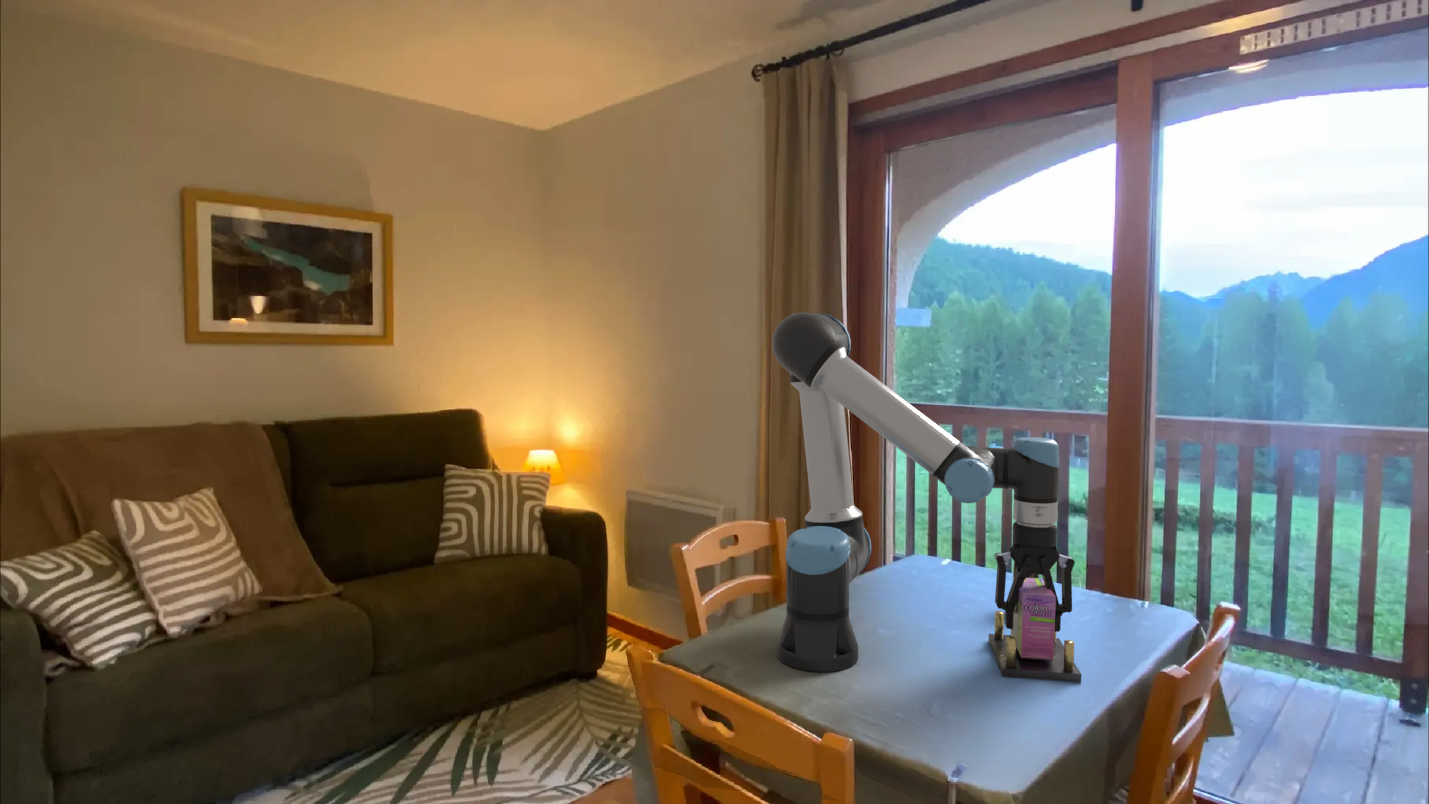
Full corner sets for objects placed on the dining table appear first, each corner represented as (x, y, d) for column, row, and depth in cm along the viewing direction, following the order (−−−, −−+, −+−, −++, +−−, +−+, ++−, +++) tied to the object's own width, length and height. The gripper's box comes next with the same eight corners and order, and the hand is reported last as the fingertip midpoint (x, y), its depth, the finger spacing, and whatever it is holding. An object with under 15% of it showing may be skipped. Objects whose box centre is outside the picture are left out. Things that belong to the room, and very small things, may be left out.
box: (1054, 660, 142) (1056, 595, 141) (1020, 658, 143) (1021, 593, 142) (1042, 639, 152) (1044, 578, 151) (1011, 637, 153) (1012, 576, 152)
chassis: (1001, 676, 140) (1002, 640, 140) (988, 641, 157) (989, 608, 157) (1081, 682, 138) (1082, 645, 137) (1058, 645, 154) (1059, 612, 154)
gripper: (984, 525, 144) (981, 650, 145) (1095, 529, 140) (1091, 658, 142) (978, 516, 151) (976, 636, 153) (1084, 520, 147) (1080, 642, 149)
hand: (1031, 646), depth 147 cm, fingers closed on box, 6 cm apart
